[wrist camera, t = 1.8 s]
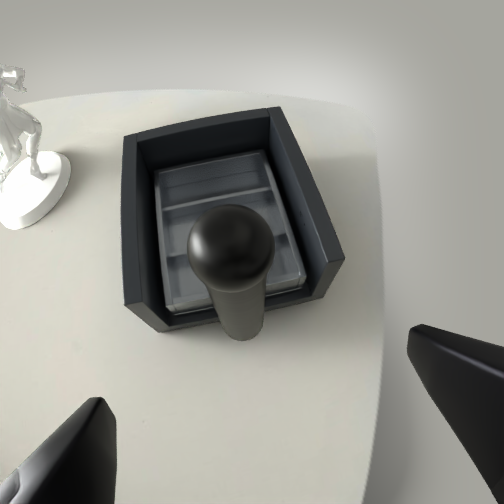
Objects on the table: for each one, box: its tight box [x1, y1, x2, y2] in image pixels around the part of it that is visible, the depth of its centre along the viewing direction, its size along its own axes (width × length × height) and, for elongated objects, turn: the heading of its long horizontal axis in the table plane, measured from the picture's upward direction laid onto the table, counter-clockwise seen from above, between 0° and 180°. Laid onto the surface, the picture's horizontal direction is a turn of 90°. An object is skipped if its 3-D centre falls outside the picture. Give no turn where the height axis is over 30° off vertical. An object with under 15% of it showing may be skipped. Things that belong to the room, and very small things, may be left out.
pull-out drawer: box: [154, 149, 307, 341], centre depth 16 cm, size 13×8×11 cm, turn 13°
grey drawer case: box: [121, 107, 345, 333], centre depth 20 cm, size 12×11×6 cm
